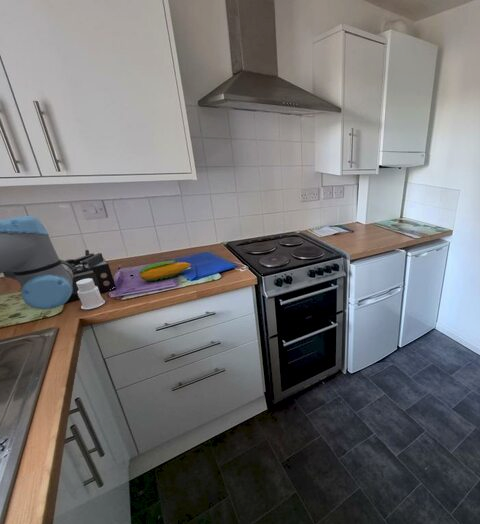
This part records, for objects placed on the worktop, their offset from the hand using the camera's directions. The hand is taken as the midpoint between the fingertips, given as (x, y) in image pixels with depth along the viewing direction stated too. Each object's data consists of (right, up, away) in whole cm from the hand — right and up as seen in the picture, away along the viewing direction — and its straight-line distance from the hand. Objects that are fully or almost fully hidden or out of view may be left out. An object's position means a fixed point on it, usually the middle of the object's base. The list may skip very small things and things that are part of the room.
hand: (58, 258), depth 89 cm
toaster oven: (-19, -13, +32) cm, 40 cm away
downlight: (-9, -17, +23) cm, 30 cm away
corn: (+5, -8, +45) cm, 46 cm away
